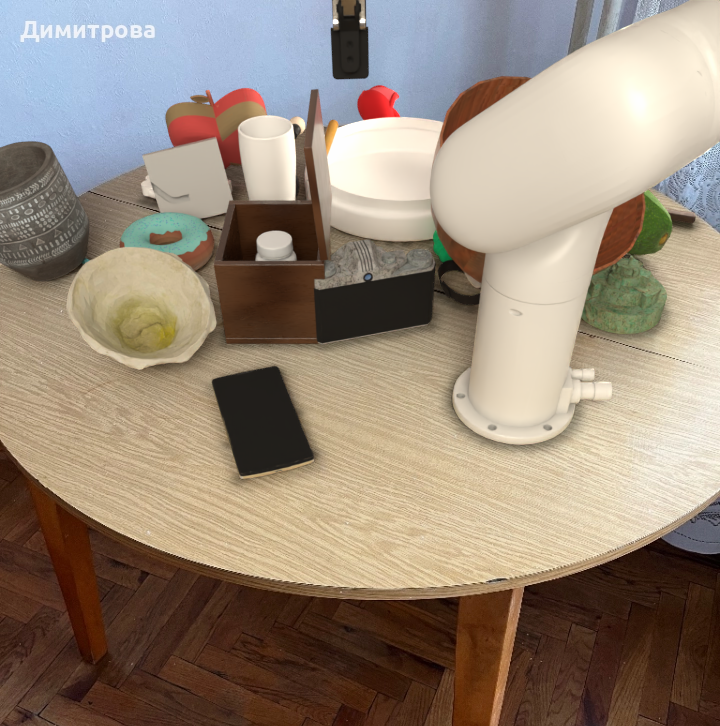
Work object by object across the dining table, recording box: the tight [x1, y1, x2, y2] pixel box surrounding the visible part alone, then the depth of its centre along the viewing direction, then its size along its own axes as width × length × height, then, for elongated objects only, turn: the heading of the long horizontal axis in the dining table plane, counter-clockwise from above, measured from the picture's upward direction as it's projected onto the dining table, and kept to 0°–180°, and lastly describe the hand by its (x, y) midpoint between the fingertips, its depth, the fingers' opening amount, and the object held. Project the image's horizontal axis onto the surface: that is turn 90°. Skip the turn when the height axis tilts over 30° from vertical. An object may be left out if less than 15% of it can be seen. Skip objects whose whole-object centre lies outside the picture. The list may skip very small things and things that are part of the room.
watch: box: [437, 260, 481, 306], centre depth 93 cm, size 8×5×4 cm, turn 31°
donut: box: [118, 212, 216, 272], centre depth 99 cm, size 12×12×4 cm
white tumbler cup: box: [238, 114, 297, 201], centre depth 98 cm, size 7×7×15 cm
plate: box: [303, 116, 444, 243], centre depth 110 cm, size 27×27×6 cm
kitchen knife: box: [665, 207, 697, 224], centre depth 108 cm, size 18×1×2 cm
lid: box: [303, 88, 332, 261], centre depth 81 cm, size 12×14×1 cm
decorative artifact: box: [581, 255, 668, 335], centre depth 90 cm, size 10×7×10 cm
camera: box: [314, 238, 437, 345], centre depth 88 cm, size 15×7×10 cm, turn 106°
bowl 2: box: [431, 75, 646, 284], centre depth 89 cm, size 25×25×11 cm
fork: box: [307, 119, 340, 181], centre depth 107 cm, size 2×2×20 cm
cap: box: [356, 84, 401, 121], centre depth 125 cm, size 8×6×6 cm
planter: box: [0, 140, 90, 282], centre depth 94 cm, size 12×12×13 cm
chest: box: [213, 199, 332, 345], centre depth 89 cm, size 12×14×10 cm
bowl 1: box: [65, 247, 218, 371], centre depth 84 cm, size 15×14×10 cm
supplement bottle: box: [255, 231, 297, 261], centre depth 89 cm, size 5×5×8 cm
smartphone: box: [211, 365, 315, 480], centre depth 79 cm, size 7×1×15 cm
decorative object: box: [164, 87, 268, 170], centre depth 108 cm, size 14×4×15 cm
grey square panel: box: [142, 137, 234, 219], centre depth 106 cm, size 12×11×4 cm
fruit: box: [626, 189, 673, 256], centre depth 99 cm, size 15×10×10 cm
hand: (350, 58), depth 72 cm, fingers open, 9 cm apart
